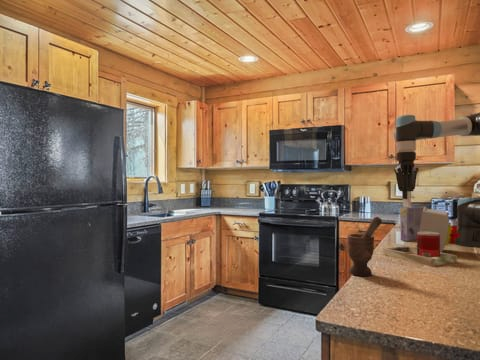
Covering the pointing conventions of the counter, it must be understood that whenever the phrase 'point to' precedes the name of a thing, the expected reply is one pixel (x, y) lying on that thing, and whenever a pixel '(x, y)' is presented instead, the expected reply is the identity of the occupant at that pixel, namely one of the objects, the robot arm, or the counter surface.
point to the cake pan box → (410, 222)
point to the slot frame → (405, 255)
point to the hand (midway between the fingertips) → (406, 206)
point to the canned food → (428, 244)
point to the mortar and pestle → (362, 249)
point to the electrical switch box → (439, 226)
